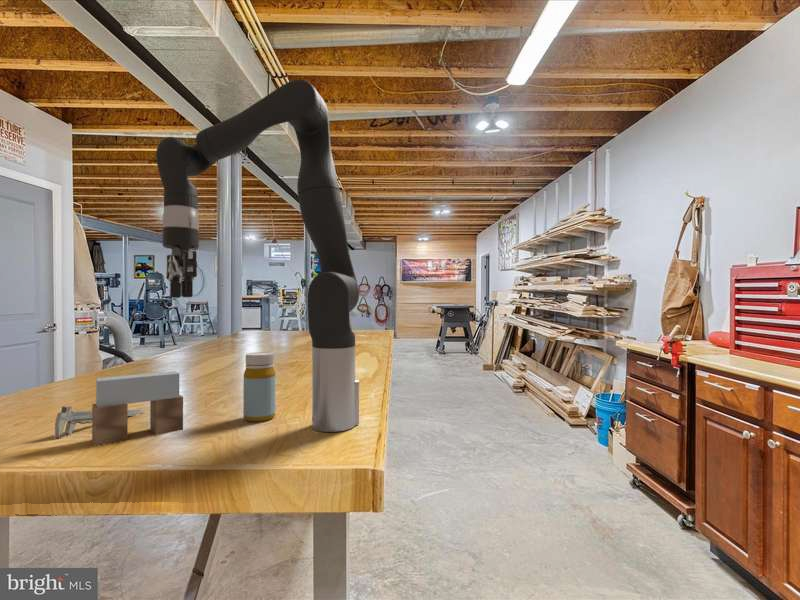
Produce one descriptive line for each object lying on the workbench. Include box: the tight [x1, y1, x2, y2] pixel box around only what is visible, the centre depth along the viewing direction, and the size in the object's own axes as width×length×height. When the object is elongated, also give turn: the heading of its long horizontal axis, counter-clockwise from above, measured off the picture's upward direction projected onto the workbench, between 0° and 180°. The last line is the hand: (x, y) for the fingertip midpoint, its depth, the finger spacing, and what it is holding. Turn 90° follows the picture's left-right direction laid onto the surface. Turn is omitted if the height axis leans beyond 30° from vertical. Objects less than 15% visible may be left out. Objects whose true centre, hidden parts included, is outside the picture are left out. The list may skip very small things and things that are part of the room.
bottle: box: [242, 351, 276, 423], centre depth 97 cm, size 7×7×15 cm
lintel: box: [95, 370, 180, 408], centre depth 85 cm, size 14×4×5 cm, turn 128°
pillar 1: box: [91, 403, 129, 447], centre depth 82 cm, size 5×5×7 cm
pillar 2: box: [149, 394, 184, 436], centre depth 89 cm, size 5×5×7 cm
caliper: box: [54, 405, 145, 439], centre depth 93 cm, size 20×1×6 cm, turn 166°
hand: (181, 297), depth 97 cm, fingers open, 8 cm apart
